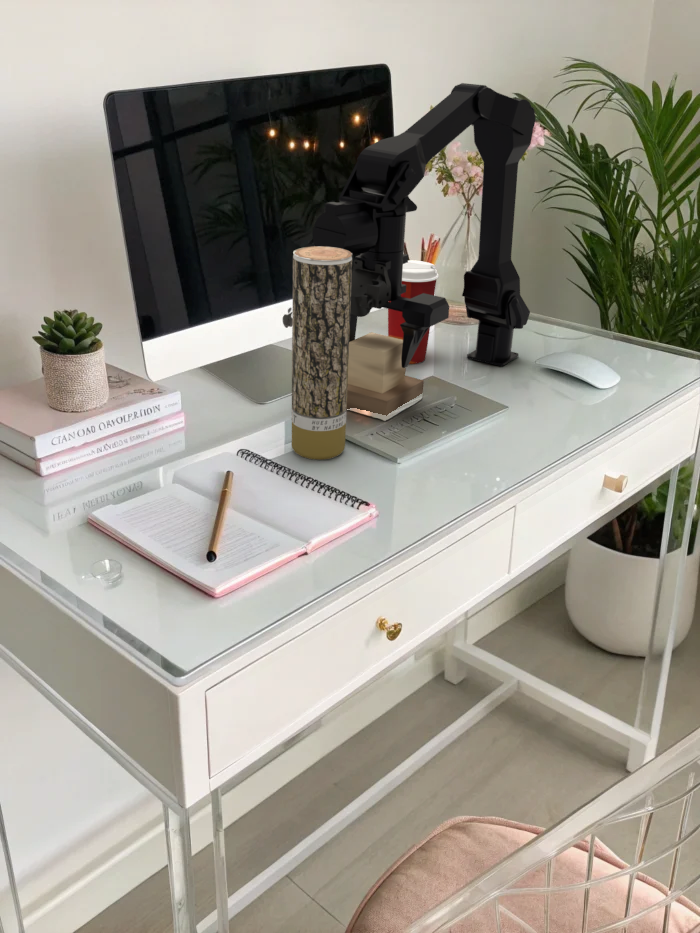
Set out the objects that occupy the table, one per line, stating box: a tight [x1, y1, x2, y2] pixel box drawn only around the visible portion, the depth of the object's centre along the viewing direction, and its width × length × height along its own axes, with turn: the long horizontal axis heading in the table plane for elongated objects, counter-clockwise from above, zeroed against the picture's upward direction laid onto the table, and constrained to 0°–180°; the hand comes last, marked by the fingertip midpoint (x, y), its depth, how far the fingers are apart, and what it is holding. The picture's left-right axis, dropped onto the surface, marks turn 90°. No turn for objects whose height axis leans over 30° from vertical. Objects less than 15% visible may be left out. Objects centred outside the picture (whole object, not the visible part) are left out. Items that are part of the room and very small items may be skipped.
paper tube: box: [291, 245, 353, 461], centre depth 111 cm, size 7×7×25 cm
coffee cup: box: [387, 259, 440, 365], centre depth 145 cm, size 8×8×15 cm
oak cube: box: [348, 331, 407, 394], centre depth 129 cm, size 6×6×6 cm
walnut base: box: [347, 375, 425, 416], centre depth 131 cm, size 10×10×3 cm
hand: (376, 359), depth 128 cm, fingers open, 9 cm apart
